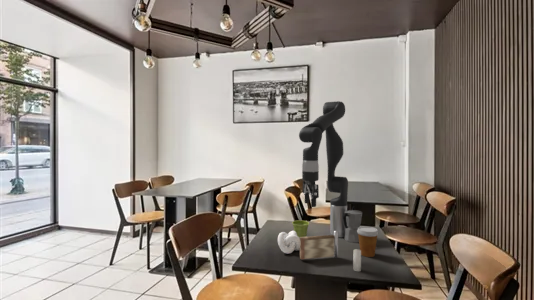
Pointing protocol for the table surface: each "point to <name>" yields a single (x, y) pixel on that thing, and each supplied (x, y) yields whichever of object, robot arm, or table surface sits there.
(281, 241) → the white decorative knot
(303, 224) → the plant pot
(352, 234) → the coffeepot
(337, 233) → the translucent grey rod
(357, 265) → the post
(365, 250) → the disposable coffee cup
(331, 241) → the brown flat block
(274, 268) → the table surface
